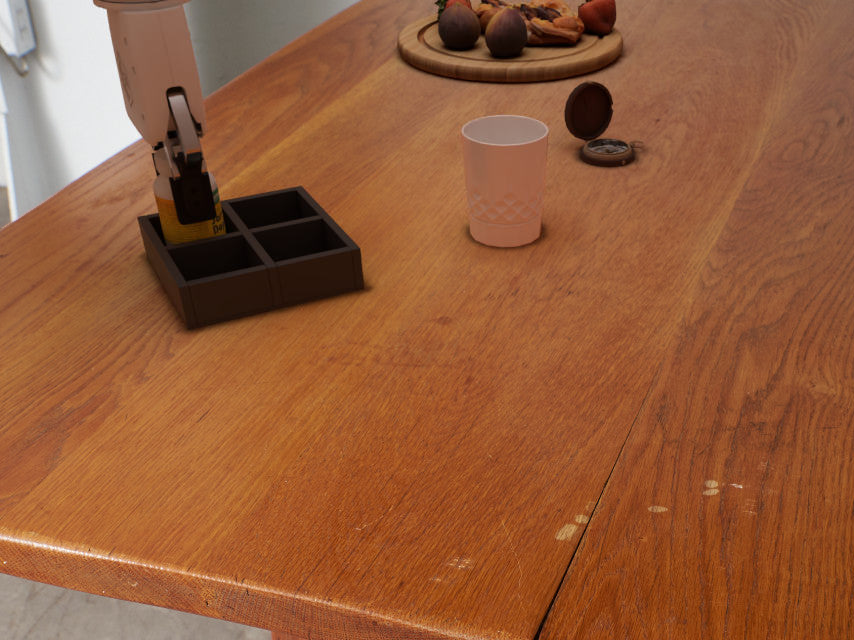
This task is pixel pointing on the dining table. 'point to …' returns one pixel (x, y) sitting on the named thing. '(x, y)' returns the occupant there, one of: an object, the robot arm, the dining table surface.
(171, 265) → the holder
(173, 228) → the supplement bottle
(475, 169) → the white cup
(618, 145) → the compass
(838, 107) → the dining table surface
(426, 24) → the wooden plate
